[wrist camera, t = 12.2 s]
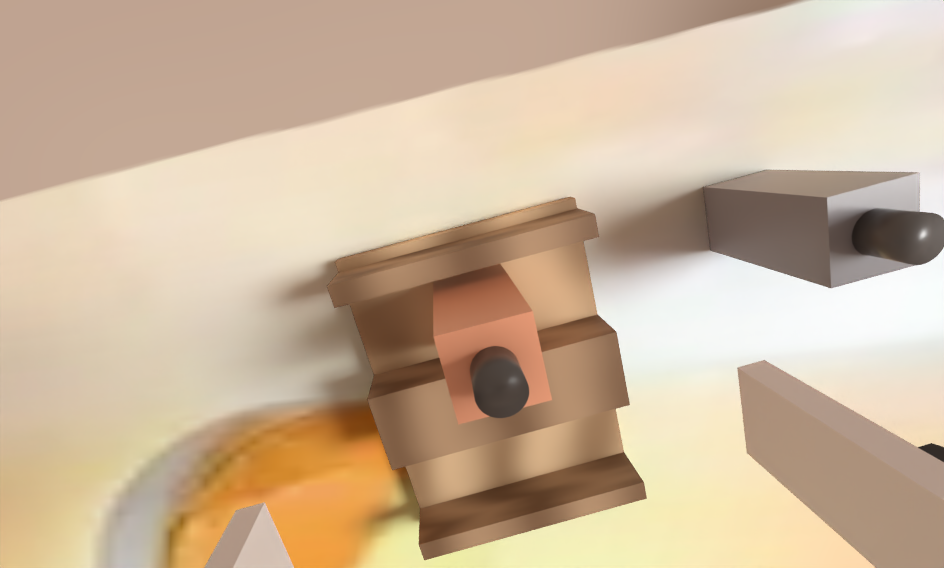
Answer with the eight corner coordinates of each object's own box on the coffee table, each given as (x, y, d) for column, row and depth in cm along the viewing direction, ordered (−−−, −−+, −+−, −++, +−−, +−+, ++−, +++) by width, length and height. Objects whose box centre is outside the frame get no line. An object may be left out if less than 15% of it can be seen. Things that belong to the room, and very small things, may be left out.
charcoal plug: (710, 250, 29) (873, 301, 18) (703, 186, 28) (871, 201, 17) (772, 233, 29) (970, 274, 18) (767, 169, 28) (974, 173, 17)
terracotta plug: (450, 342, 28) (461, 454, 17) (433, 280, 27) (433, 357, 16) (514, 326, 28) (565, 426, 17) (500, 263, 27) (544, 328, 16)
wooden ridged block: (427, 519, 32) (427, 567, 28) (338, 258, 27) (322, 274, 23) (622, 465, 32) (648, 506, 28) (569, 196, 27) (592, 202, 23)
